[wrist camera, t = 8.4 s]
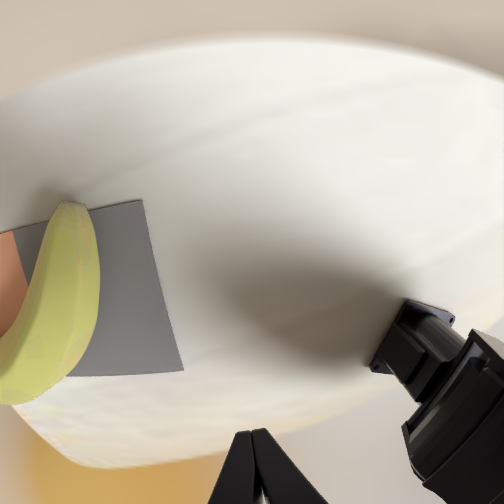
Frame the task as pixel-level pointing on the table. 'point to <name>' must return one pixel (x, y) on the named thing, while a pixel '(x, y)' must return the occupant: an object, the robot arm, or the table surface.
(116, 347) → the mat
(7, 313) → the pad
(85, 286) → the banana
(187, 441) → the table surface
